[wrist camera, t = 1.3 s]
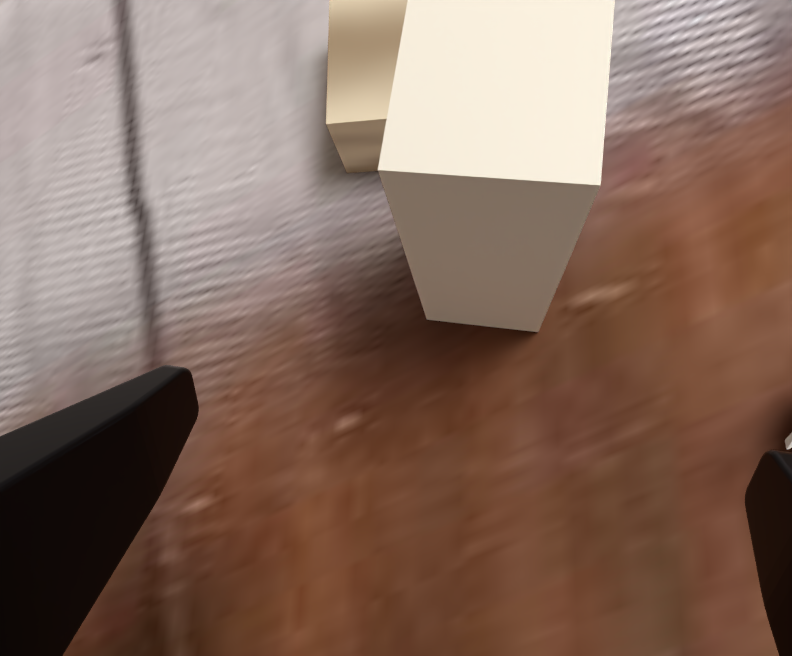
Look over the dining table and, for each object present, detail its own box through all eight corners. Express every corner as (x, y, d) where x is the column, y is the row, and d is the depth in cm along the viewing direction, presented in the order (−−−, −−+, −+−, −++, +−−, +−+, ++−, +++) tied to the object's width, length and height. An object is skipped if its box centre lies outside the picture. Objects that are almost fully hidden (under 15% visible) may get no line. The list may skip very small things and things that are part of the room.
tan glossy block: (504, 164, 25) (509, 107, 21) (348, 175, 26) (325, 124, 22) (496, 30, 27) (499, -44, 23) (350, 46, 28) (330, -23, 24)
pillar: (538, 332, 23) (600, 185, 11) (426, 319, 23) (377, 169, 12) (548, 228, 24) (615, -5, 12) (441, 219, 24) (409, -8, 13)
